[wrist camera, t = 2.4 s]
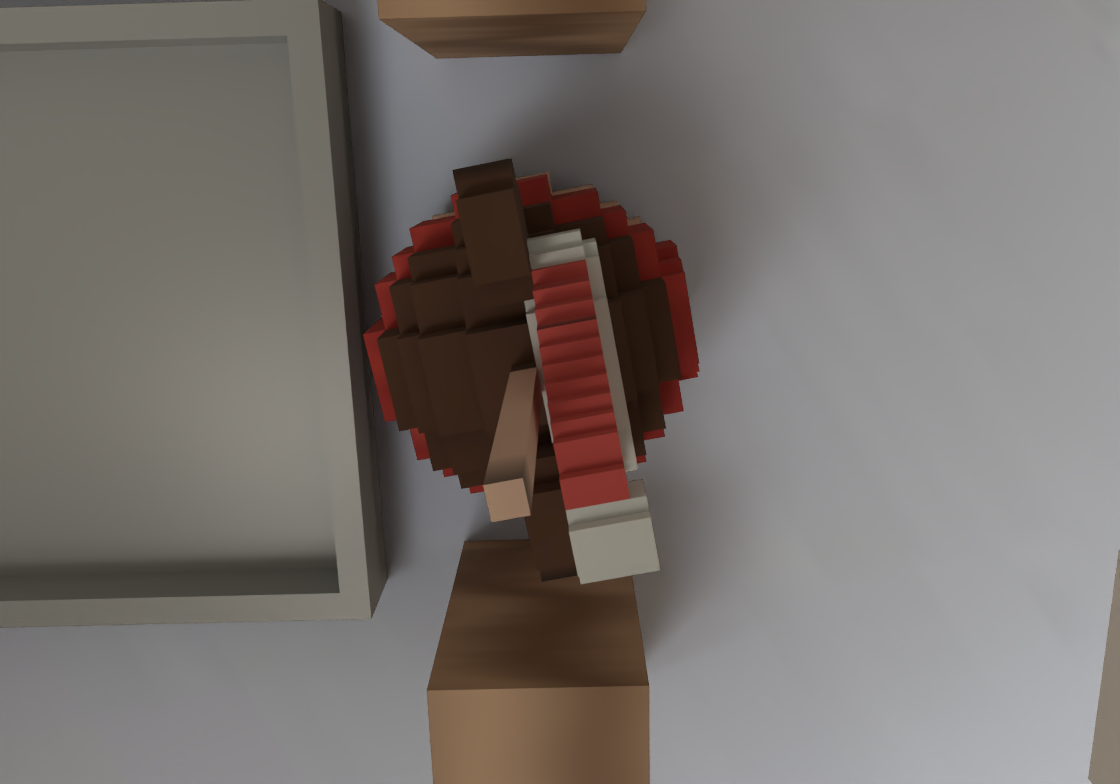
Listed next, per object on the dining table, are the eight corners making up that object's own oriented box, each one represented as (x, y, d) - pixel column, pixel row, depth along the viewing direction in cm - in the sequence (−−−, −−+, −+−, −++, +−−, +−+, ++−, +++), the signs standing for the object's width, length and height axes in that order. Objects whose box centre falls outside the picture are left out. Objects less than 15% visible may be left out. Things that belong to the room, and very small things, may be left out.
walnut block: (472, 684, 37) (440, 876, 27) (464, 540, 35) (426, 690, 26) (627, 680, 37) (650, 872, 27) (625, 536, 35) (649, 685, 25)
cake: (370, 185, 32) (139, 234, 15) (643, 131, 31) (740, 114, 14) (440, 478, 35) (315, 816, 17) (693, 432, 34) (827, 731, 17)
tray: (-141, 592, 36) (-203, 632, 33) (-273, 30, 31) (-359, 18, 28) (386, 580, 36) (371, 618, 33) (341, 12, 31) (317, -2, 28)
